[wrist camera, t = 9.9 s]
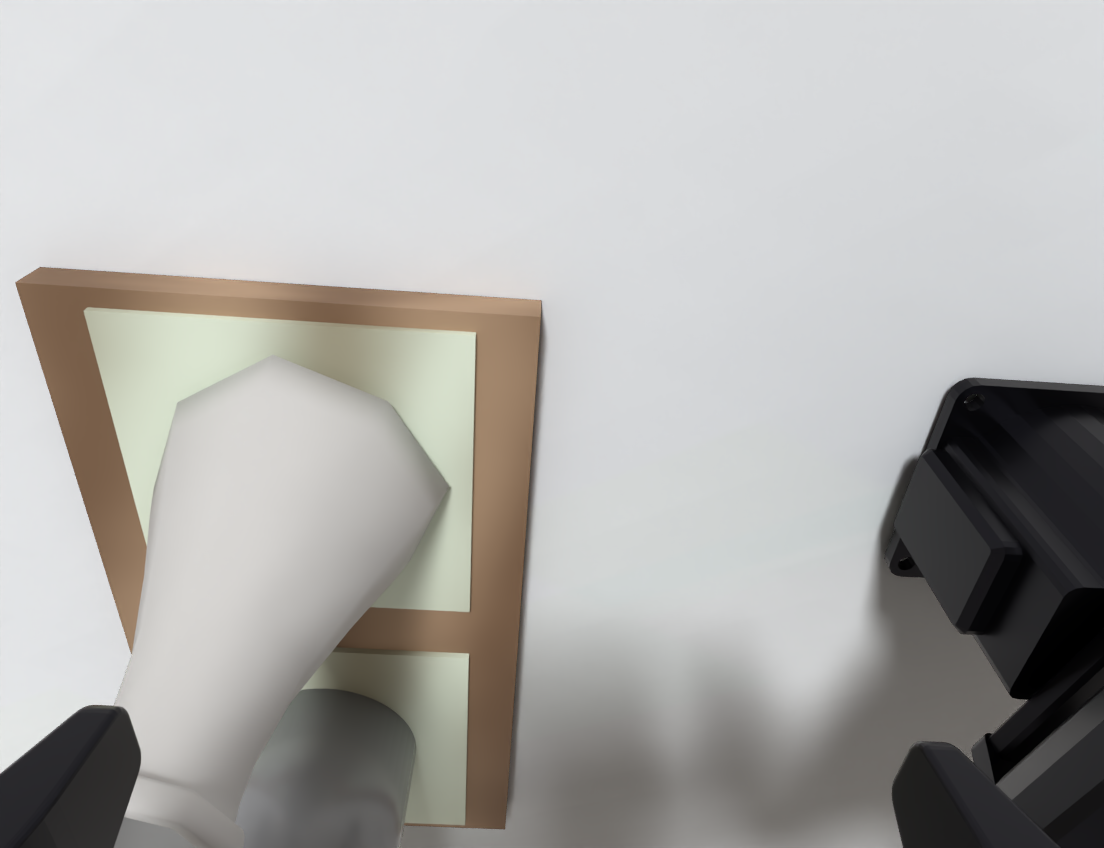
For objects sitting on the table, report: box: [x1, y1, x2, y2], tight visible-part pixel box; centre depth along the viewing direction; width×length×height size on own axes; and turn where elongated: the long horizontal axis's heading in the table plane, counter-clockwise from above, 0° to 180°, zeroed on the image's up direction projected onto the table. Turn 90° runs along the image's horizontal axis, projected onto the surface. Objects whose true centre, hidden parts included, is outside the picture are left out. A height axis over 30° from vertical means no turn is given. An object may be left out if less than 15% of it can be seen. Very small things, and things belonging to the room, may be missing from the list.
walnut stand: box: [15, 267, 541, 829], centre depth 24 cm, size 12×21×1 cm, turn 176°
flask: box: [114, 355, 449, 848], centre depth 16 cm, size 7×7×10 cm
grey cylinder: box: [235, 689, 416, 848], centre depth 23 cm, size 6×6×7 cm
